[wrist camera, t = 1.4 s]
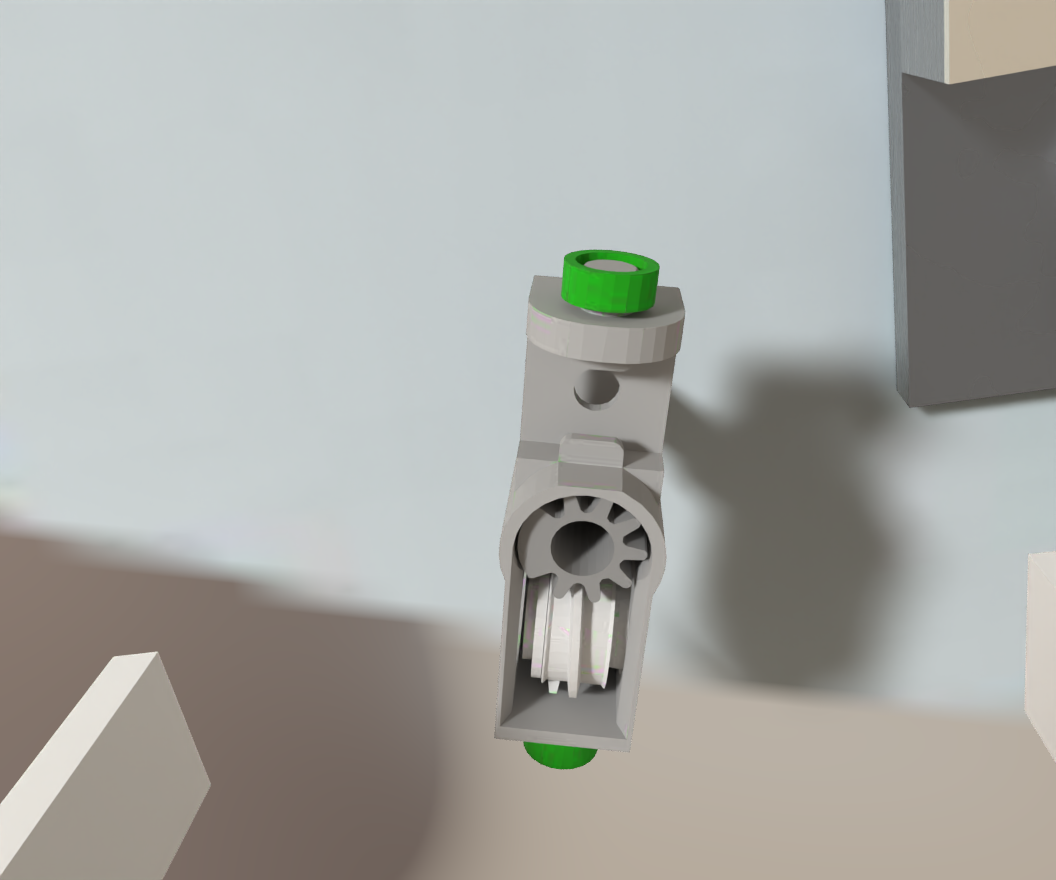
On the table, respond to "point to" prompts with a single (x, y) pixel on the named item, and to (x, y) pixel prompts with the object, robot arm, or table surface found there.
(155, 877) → the robot arm
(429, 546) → the table surface
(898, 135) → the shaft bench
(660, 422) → the mechanical component
